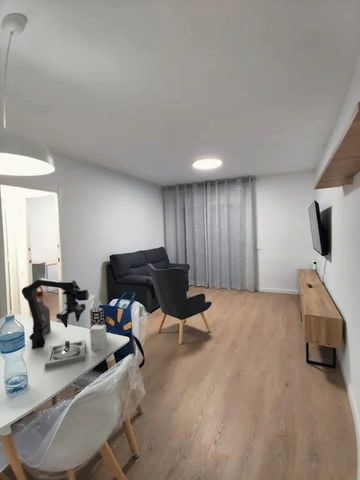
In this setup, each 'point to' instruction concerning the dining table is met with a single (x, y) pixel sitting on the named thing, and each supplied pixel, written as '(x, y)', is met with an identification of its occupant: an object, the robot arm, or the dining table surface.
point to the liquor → (43, 310)
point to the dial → (66, 351)
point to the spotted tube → (97, 316)
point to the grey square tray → (53, 362)
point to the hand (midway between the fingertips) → (72, 324)
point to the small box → (98, 337)
